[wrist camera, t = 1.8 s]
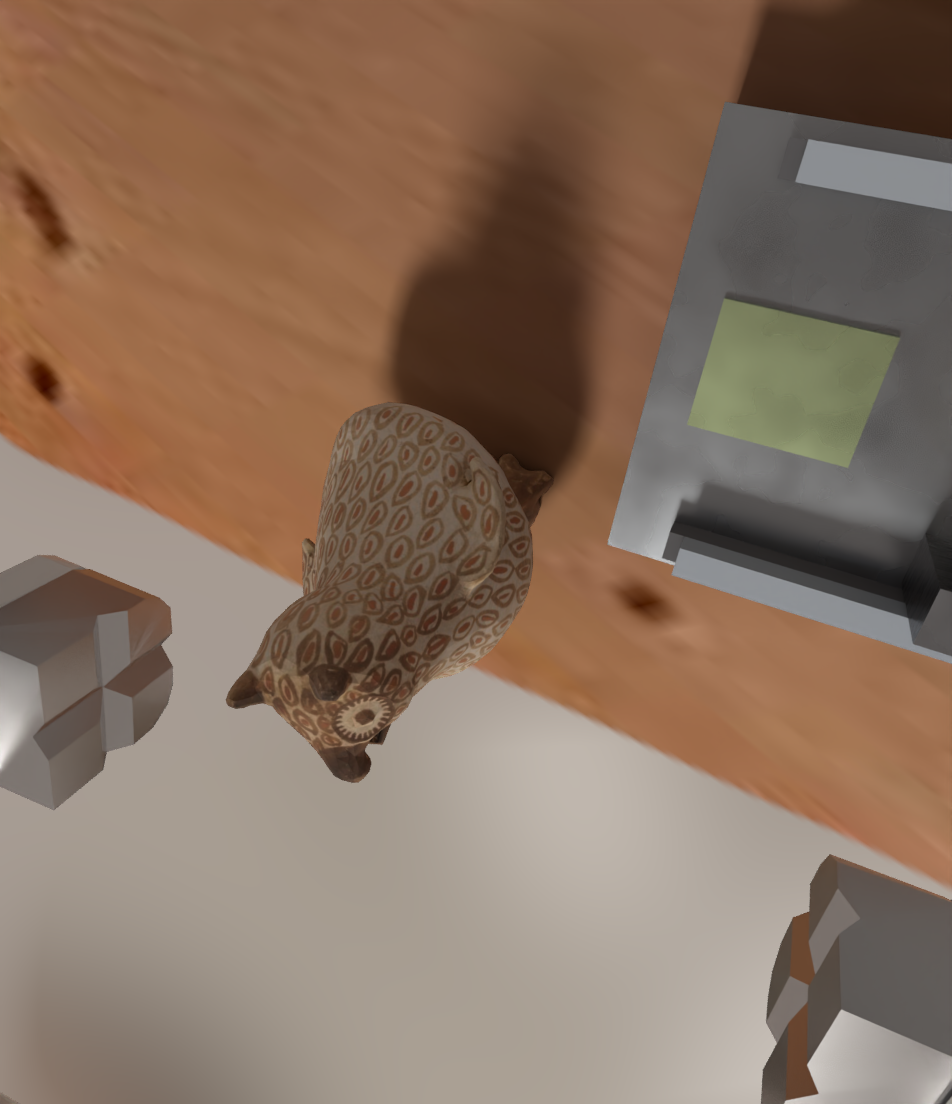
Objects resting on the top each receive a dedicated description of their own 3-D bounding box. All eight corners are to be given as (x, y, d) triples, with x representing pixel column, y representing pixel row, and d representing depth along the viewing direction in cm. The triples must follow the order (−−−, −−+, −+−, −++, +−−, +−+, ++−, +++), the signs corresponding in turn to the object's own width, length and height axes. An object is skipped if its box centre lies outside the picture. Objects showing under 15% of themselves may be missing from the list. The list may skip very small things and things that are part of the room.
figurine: (422, 613, 37) (214, 841, 25) (333, 414, 35) (50, 553, 22) (608, 569, 33) (472, 818, 20) (521, 340, 31) (304, 458, 18)
